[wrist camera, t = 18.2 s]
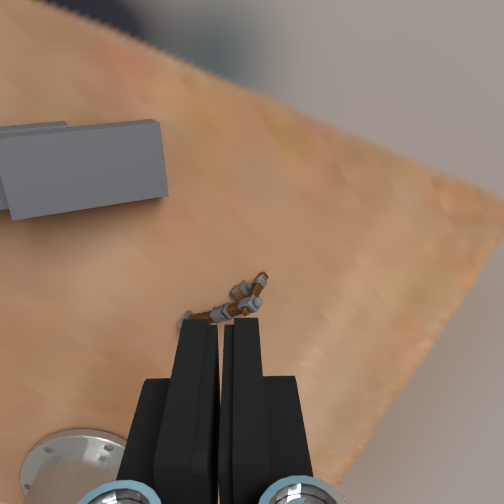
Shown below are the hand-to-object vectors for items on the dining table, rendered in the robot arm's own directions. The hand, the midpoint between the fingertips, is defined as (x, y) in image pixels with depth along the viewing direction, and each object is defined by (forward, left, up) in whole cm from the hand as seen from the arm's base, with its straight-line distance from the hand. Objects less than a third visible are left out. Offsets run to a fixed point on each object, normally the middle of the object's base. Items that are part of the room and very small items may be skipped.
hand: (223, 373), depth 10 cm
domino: (+3, +4, -24) cm, 25 cm away
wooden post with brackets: (-10, +7, -26) cm, 28 cm away
